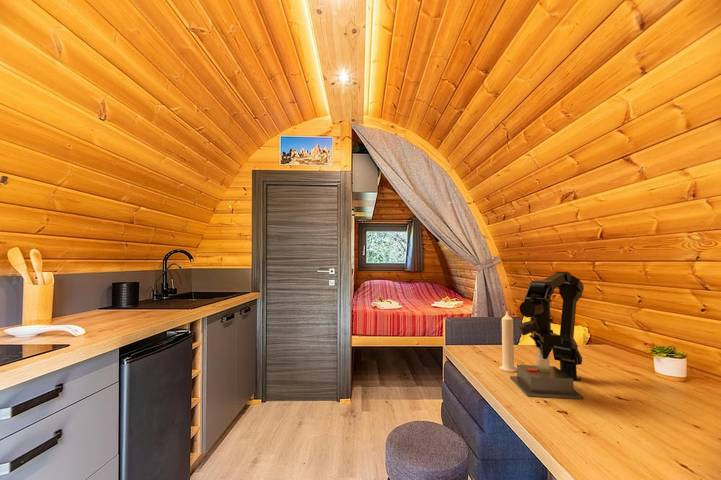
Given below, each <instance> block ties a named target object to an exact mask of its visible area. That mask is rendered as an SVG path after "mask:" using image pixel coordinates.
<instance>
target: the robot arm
mask: <svg viewBox="0 0 721 480" xmlns="http://www.w3.org/2000/svg"><path fill="white" fill-rule="evenodd" d="M584 287H585V286H584V284H583V281H581V280H580V278H578V277H576V276H574V275H572V274H571V272H568V271H555V272H554V274H551V275H550V276H548V277H545V278H544V279H538V280H537V279H536V280H532V281H530V283H529V284H528V286H527V290H526V292H525V296H524V301H523V302H521V303H520V305H519V308H518V309H519V312H520V314H521V315H522V316H524V317H525V318H530V319H529V320H528V321H525V322H522V323H519V324H516V329H517V330H518V333H519V334H521V335H522V336H529V338H531V340H533V341H534V344H535V347H541V349H542V355H543V359H547V358H548V356H549V357H550V354H551V352H552V356H553V360H555V361H559V370H561V371H562V372H564V373H565V374H567V375H568V376H570V377H571V378H573V381H576V380H577V381H578V380H579V381H581V379H582V378H580V377H579V376H578V375H577V374H578V372H577V371H578V370H577V366H578V365H581V366H582V363H583V356H582V354H581V353H580V351H579V349H578V348H579V345H578V343H577V342H576V340H575V338H574V337H575V325H576V324H575V323H576V311H577V302H578V301H579V300H580V299H581V298H582V296H583V292H584V290H585V288H584ZM555 289H558V294H559V295H560V297H561V299H562V306H561V307H562V308H561V317H560V318H561V319H560V327H559V329H560V331H559V334H557V333H556V332H554V330H553V329H551V328H552V327H551V326H552V324H551V322H552V323H553V322H554V320H553V318H551V303H552V299H551V297H552V295H554V293H555Z"/></svg>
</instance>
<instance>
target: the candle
mask: <svg viewBox="0 0 721 480" xmlns="http://www.w3.org/2000/svg"><path fill="white" fill-rule="evenodd" d="M501 343H502V344H501V345H502V347H501V348H502V349H501V350H502V353H501V354H502V356H501V357H502V365H500V366H499V370H501V371H503V372H506V373H517V366H516V367H515V350H514V349H515V348H514V347H515V346H514V343H515V341H514V319H513V318H512V317H511V316H510V314H509V311H508V310H507V311H506V313H505V315H504V316H503V317H502V318H501Z"/></svg>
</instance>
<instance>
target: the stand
mask: <svg viewBox="0 0 721 480" xmlns="http://www.w3.org/2000/svg"><path fill="white" fill-rule="evenodd" d="M516 368H517V372H516V375H510V376H509V379H510V380H511V381H512V382H513V383H514V384H515V385H516V387H518V388H519V389H520V390H521V392H522V393H523V394H524V395H525V396H526V397H528V398H530V397H531V398H549V399H550V398H551V399H568V400H569V399H571V400H573V399H574V400H584V395H582V394H581V393H580V392H578V391H577V390H575V388H574V385H575V384H574V380H573V378H571V377H570V376H568V375H567V374H565V373H564V372H562V371H561V370H560V368H558V367H556V366H555V365H554V366H553V365H550V373H539V372H538V370H537V365H534V364H533V365H531V364H529V365H528V364H517V365H516Z"/></svg>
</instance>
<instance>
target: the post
mask: <svg viewBox="0 0 721 480" xmlns="http://www.w3.org/2000/svg"><path fill="white" fill-rule="evenodd" d="M535 347H536V346H535ZM536 366H537V370H538V372H539V373H550V366H551V365H550V355H549V356H548V358H547V359H543V355H542V349H541V347H536Z"/></svg>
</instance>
